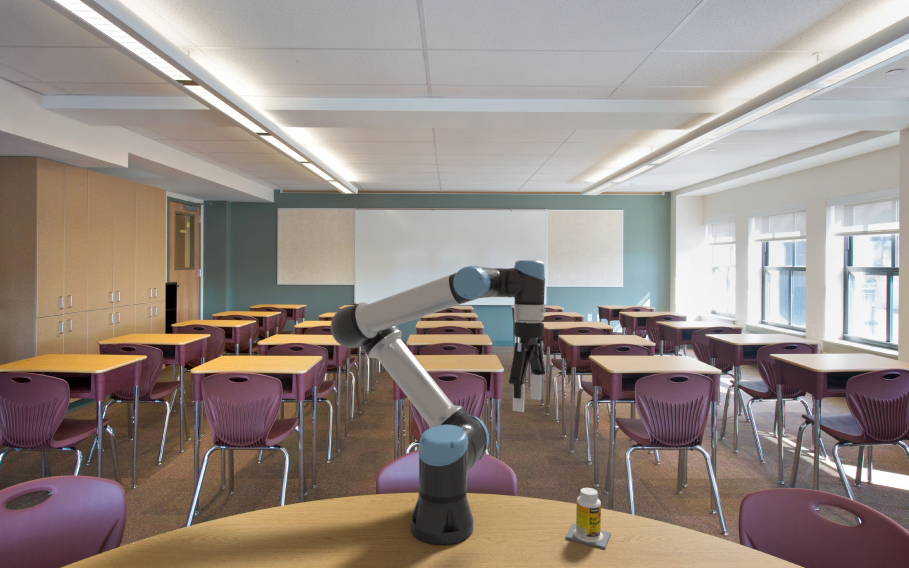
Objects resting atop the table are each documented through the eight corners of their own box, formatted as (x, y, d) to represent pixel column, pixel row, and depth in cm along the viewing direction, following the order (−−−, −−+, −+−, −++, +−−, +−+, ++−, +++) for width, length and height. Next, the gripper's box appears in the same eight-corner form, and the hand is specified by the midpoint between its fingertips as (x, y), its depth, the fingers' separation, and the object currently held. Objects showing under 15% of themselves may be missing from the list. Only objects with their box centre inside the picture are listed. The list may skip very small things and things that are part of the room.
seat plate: (565, 538, 112) (565, 536, 112) (572, 525, 119) (572, 522, 119) (605, 549, 108) (605, 546, 108) (610, 534, 114) (610, 532, 114)
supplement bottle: (589, 543, 110) (590, 498, 110) (571, 532, 114) (571, 489, 114) (605, 536, 113) (606, 492, 113) (587, 525, 117) (587, 484, 117)
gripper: (526, 326, 109) (525, 419, 109) (557, 318, 131) (555, 396, 131) (496, 324, 112) (494, 414, 113) (530, 317, 135) (529, 393, 135)
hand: (527, 405), depth 122 cm, fingers open, 13 cm apart
